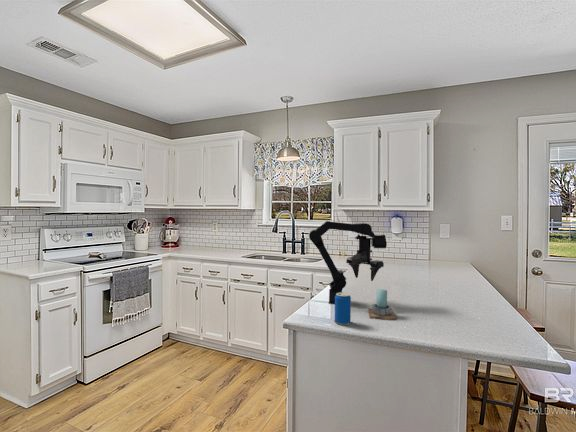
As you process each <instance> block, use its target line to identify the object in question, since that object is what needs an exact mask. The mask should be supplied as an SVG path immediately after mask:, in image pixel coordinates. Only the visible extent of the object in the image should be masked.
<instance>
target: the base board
mask: <svg viewBox="0 0 576 432" xmlns="http://www.w3.org/2000/svg"><path fill="white" fill-rule="evenodd" d="M367 311H368V317H369V319H371V318H375V319H374V320H376V319H377V320H385V319H387V320H388V321H397V316H396V314H395V312H394V310H393V309H392V315H390V316H378V315H375V314H373V313H372V308H368V309H367Z"/></svg>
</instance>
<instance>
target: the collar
mask: <svg viewBox="0 0 576 432" xmlns="http://www.w3.org/2000/svg"><path fill="white" fill-rule="evenodd" d="M371 309H372V313H373V314H375V315H378V316H390V315H392V310H393V307H392V305H390V304H387V308H377V303H373V304H372V305H371Z"/></svg>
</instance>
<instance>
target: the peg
mask: <svg viewBox="0 0 576 432" xmlns="http://www.w3.org/2000/svg"><path fill="white" fill-rule="evenodd" d="M376 304H377V308H387V305H388V290H386V289H381V288H380V289H377V290H376Z"/></svg>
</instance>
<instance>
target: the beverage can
mask: <svg viewBox="0 0 576 432" xmlns="http://www.w3.org/2000/svg"><path fill="white" fill-rule="evenodd" d="M351 302H352V298H351V294H350V293H349V292H343V291H342V292H340V293H336V296H335V304H334V322H335V323H336V324H337V325H340V326H347V325H349V324H350V323H351V317H352V316H351V314H352V312H351V304H352V303H351Z"/></svg>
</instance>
